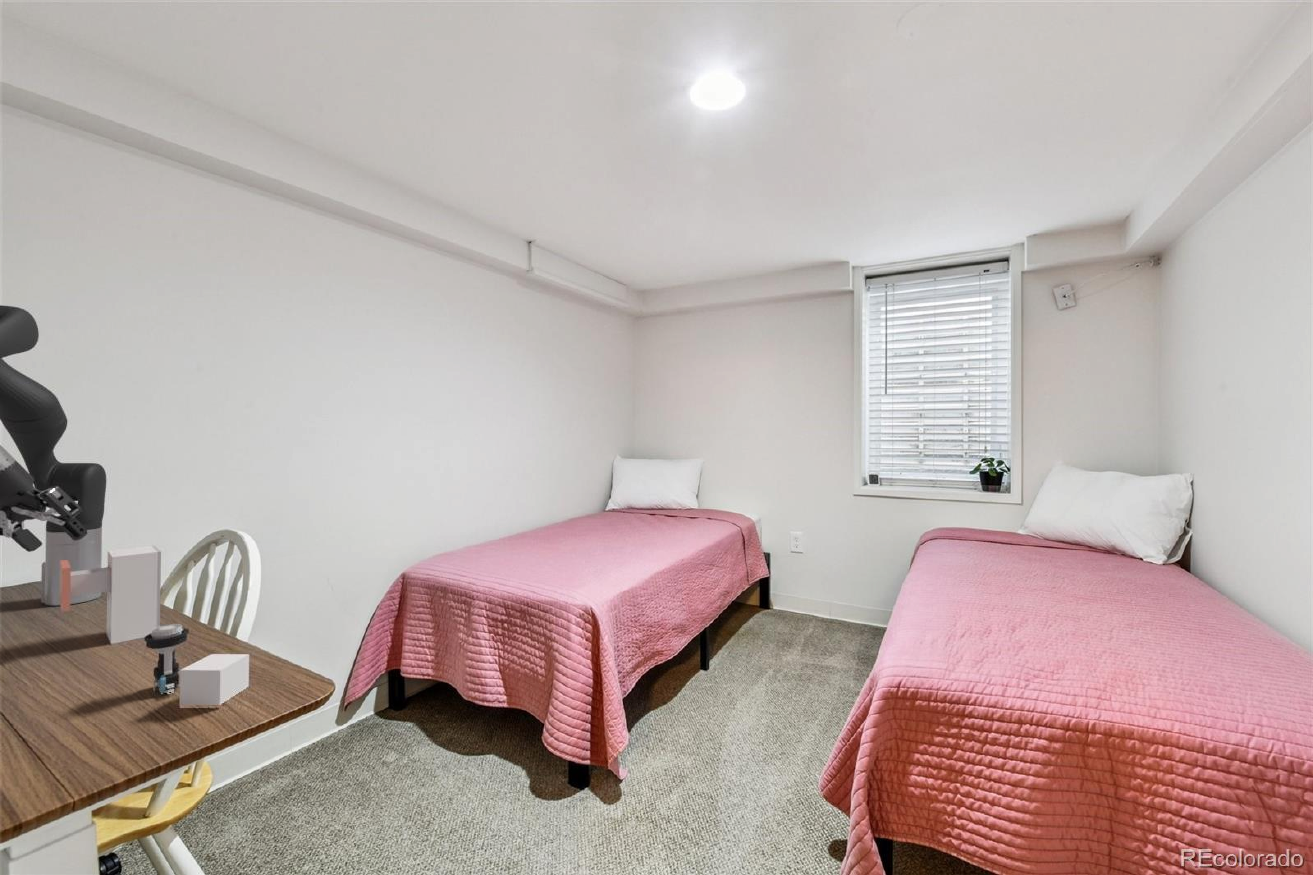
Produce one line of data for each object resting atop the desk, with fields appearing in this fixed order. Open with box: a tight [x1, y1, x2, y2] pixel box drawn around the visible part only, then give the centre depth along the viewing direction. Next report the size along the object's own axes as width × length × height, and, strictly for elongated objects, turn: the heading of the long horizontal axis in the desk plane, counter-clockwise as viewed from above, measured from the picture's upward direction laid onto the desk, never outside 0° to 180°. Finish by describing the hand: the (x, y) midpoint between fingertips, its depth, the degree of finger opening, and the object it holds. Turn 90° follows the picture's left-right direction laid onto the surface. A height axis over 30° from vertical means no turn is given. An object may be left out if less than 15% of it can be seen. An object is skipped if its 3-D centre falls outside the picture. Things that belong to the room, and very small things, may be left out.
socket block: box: [106, 545, 162, 645], centre depth 109 cm, size 7×8×17 cm
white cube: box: [178, 653, 250, 706], centre depth 84 cm, size 6×6×6 cm
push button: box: [143, 623, 190, 695], centre depth 87 cm, size 7×5×10 cm
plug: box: [59, 560, 111, 613], centre depth 105 cm, size 8×9×8 cm
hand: (59, 542), depth 97 cm, fingers open, 8 cm apart
